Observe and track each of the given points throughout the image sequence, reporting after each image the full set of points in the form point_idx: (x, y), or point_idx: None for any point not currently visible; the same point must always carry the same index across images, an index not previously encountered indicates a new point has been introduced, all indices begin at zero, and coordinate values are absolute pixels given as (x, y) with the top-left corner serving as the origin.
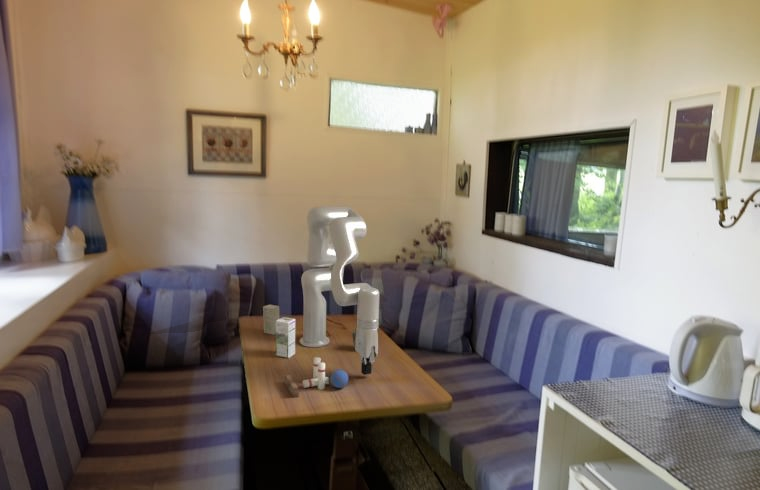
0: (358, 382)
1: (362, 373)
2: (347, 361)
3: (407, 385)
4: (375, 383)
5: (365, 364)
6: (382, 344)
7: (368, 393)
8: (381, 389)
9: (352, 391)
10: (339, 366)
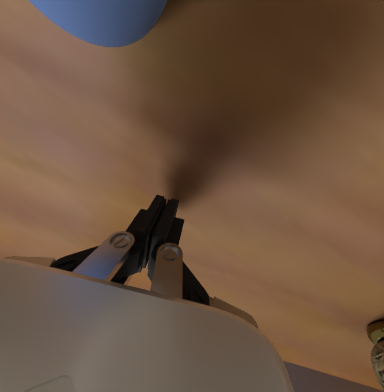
0: (139, 144)
1: (172, 200)
2: (361, 244)
3: (58, 255)
4: (102, 196)
5: (135, 238)
6: (339, 366)
7: (11, 107)
8: (44, 180)
9: (46, 38)
10: (361, 185)
